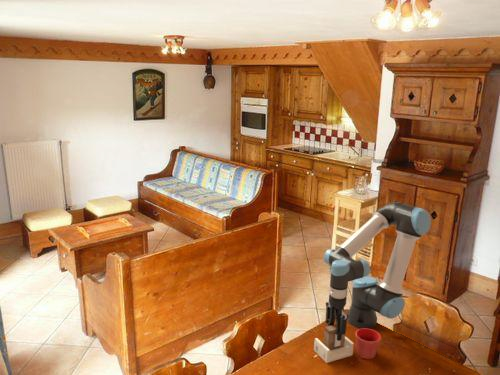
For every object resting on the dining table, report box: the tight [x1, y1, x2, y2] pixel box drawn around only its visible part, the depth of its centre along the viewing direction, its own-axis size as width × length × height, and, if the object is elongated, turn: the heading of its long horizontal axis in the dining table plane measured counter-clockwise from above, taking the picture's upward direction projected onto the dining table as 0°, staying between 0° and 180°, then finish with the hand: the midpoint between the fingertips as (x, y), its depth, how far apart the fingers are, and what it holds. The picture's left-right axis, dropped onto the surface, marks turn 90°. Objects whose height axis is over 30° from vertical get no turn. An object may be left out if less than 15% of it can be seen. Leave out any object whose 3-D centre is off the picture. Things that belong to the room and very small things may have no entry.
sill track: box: [313, 335, 355, 364], centre depth 195 cm, size 14×10×6 cm
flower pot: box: [355, 328, 382, 360], centre depth 195 cm, size 11×11×10 cm
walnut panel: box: [322, 323, 346, 351], centre depth 194 cm, size 9×4×12 cm, turn 115°
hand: (334, 342), depth 195 cm, fingers open, 4 cm apart
